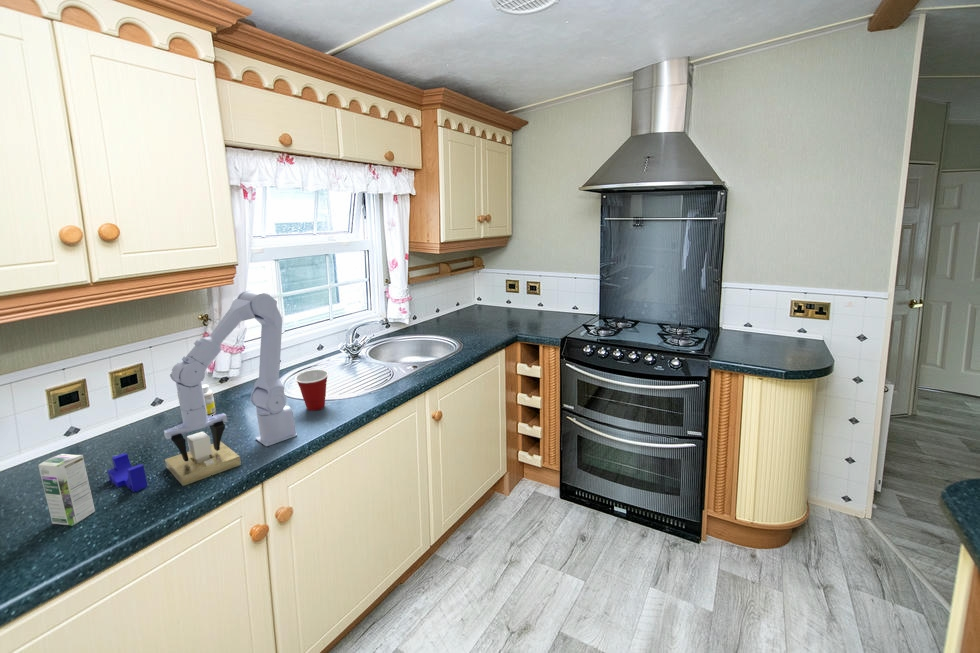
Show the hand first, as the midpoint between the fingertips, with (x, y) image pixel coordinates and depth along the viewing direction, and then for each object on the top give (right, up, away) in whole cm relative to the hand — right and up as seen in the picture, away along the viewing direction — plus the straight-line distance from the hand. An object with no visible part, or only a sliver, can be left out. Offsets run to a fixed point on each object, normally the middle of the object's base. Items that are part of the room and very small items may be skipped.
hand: (201, 454), depth 137 cm
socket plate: (0, -3, +1) cm, 3 cm away
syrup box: (-17, -9, -21) cm, 28 cm away
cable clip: (-15, -6, -7) cm, 17 cm away
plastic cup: (+17, +6, +39) cm, 43 cm away
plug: (0, -3, +1) cm, 3 cm away
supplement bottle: (-18, +4, +36) cm, 40 cm away
